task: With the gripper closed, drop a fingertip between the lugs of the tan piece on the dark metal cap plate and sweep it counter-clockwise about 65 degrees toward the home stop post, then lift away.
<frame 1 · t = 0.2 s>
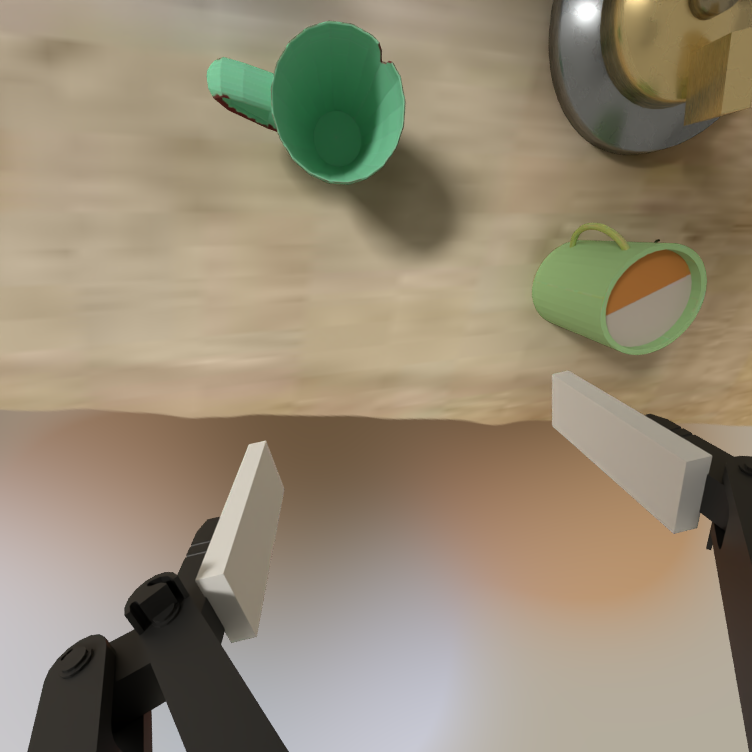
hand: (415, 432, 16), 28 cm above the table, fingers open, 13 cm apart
mug 2: (569, 273, 43), on the table
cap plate: (657, 23, 35), on the table
tan piece: (712, 2, 30), point 6 cm above the table, hinge at 0.0°
mug: (313, 133, 35), on the table
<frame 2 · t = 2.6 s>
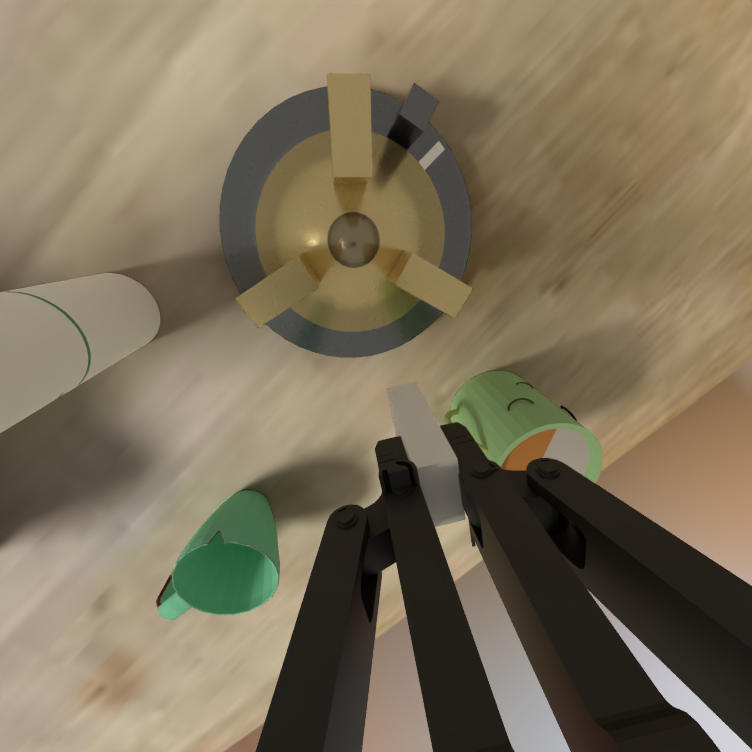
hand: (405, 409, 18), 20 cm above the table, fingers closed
cylindrical container: (120, 312, 34), on the table
mug 2: (481, 406, 42), on the table
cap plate: (349, 239, 33), on the table
tan piece: (364, 246, 28), point 6 cm above the table, hinge at 0.0°
mug: (234, 515, 44), on the table
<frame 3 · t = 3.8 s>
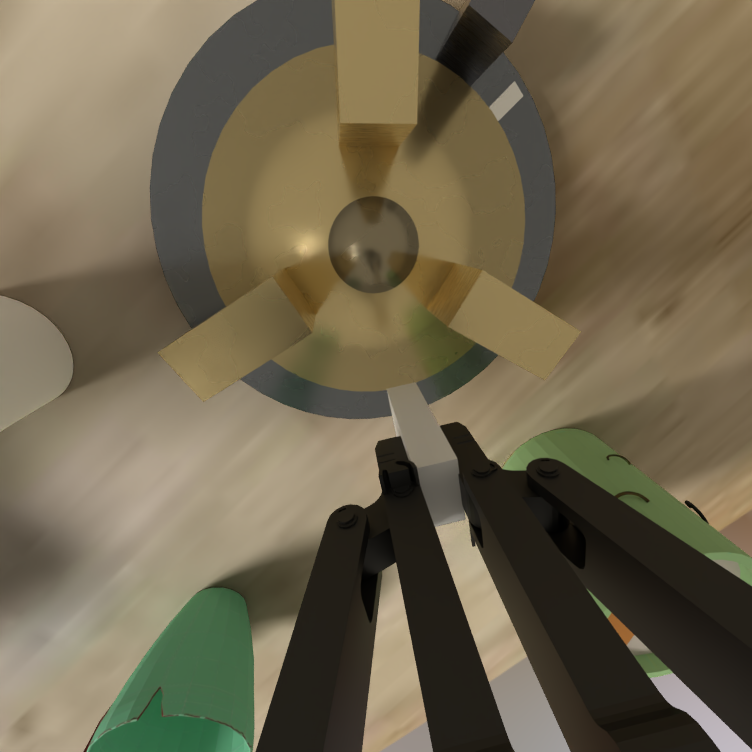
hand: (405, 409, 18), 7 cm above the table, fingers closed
cylindrical container: (10, 352, 22), on the table
mug 2: (539, 474, 30), on the table
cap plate: (362, 242, 22), on the table
tan piece: (390, 257, 17), point 6 cm above the table, hinge at 0.0°
mug: (198, 617, 32), on the table
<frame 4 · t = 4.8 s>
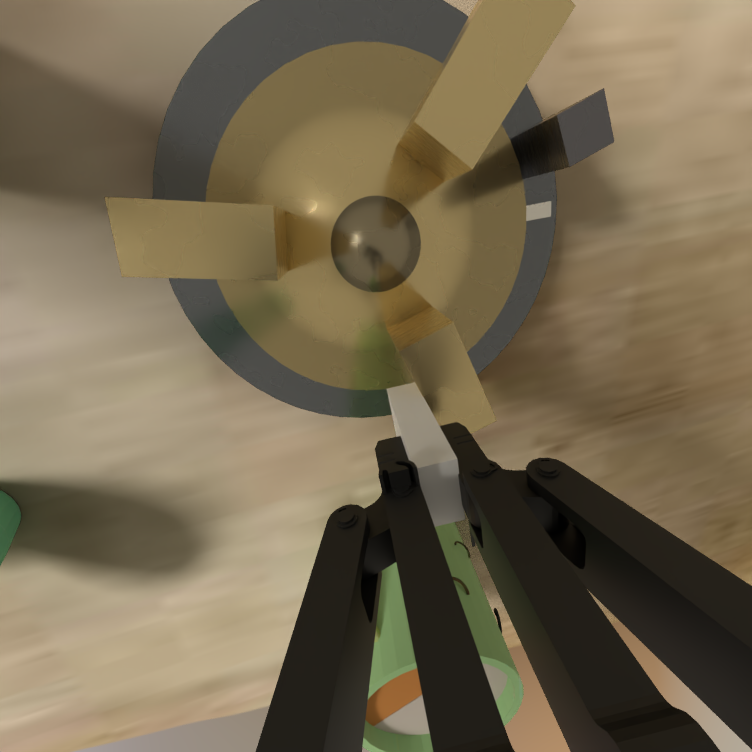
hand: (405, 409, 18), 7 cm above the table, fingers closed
mug 2: (392, 531, 31), on the table
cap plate: (364, 241, 22), on the table
tan piece: (383, 265, 17), point 6 cm above the table, hinge at 0.0°, touching gripper
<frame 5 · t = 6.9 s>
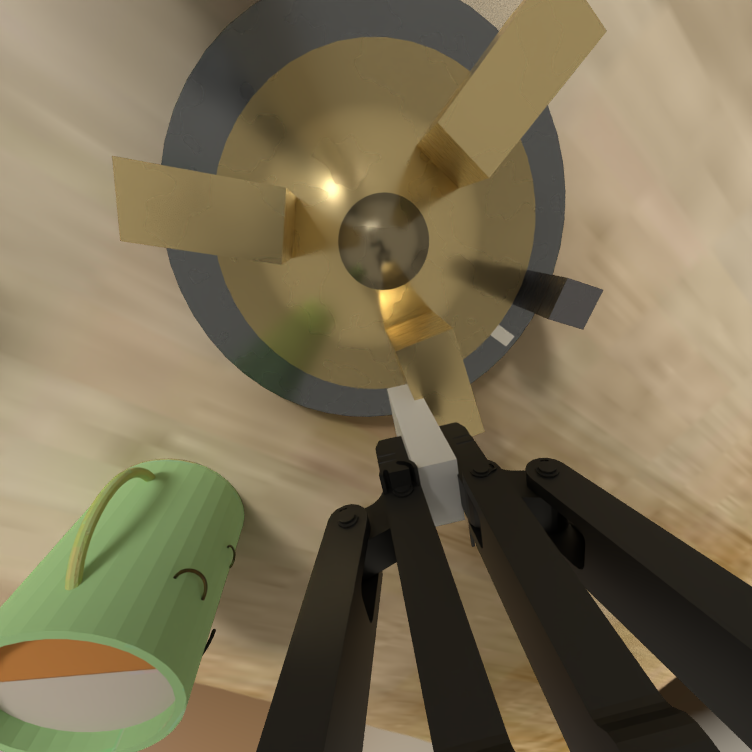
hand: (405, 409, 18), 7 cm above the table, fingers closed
mug 2: (177, 498, 27), on the table
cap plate: (370, 240, 22), on the table
tan piece: (389, 263, 17), point 6 cm above the table, hinge at 37.8°, touching gripper
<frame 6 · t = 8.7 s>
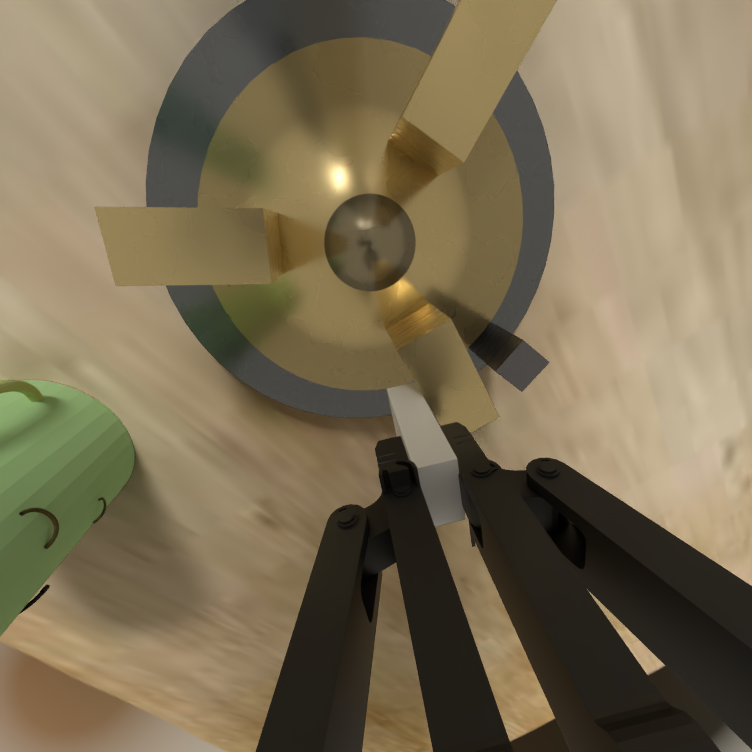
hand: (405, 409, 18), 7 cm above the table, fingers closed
mug 2: (61, 432, 24), on the table
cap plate: (360, 241, 21), on the table
tan piece: (379, 263, 17), point 6 cm above the table, hinge at 67.2°, touching gripper
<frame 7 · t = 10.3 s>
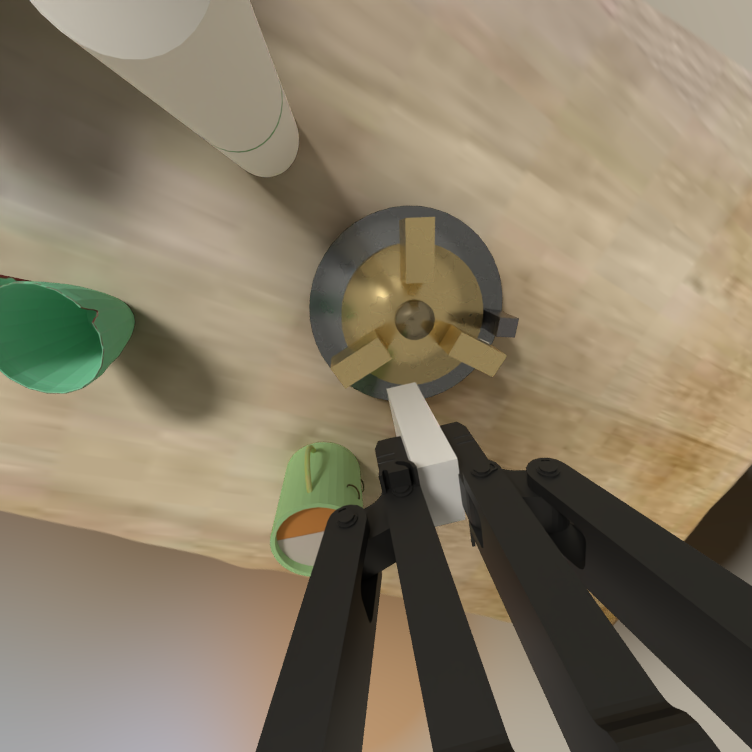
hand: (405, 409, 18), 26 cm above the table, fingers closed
cylindrical container: (262, 136, 35), on the table
mug 2: (322, 465, 49), on the table
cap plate: (404, 309, 42), on the table
tan piece: (422, 323, 37), point 6 cm above the table, hinge at 67.2°
mug: (89, 307, 39), on the table
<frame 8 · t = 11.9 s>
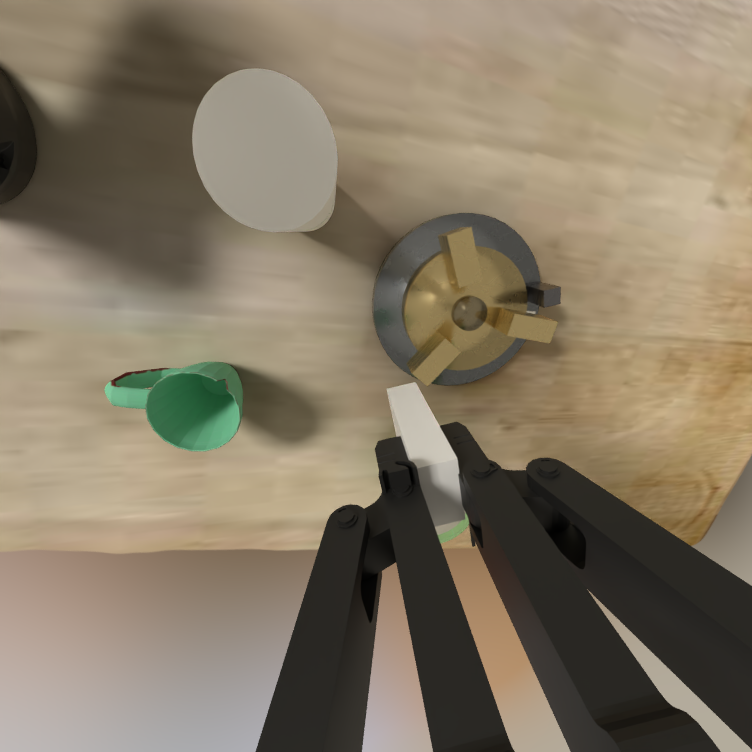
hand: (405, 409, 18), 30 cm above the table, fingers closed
cylindrical container: (304, 198, 41), on the table
mug 2: (413, 452, 56), on the table
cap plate: (453, 303, 48), on the table
tan piece: (475, 314, 43), point 6 cm above the table, hinge at 67.2°
mug: (201, 375, 48), on the table
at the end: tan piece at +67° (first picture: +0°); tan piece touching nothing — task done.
